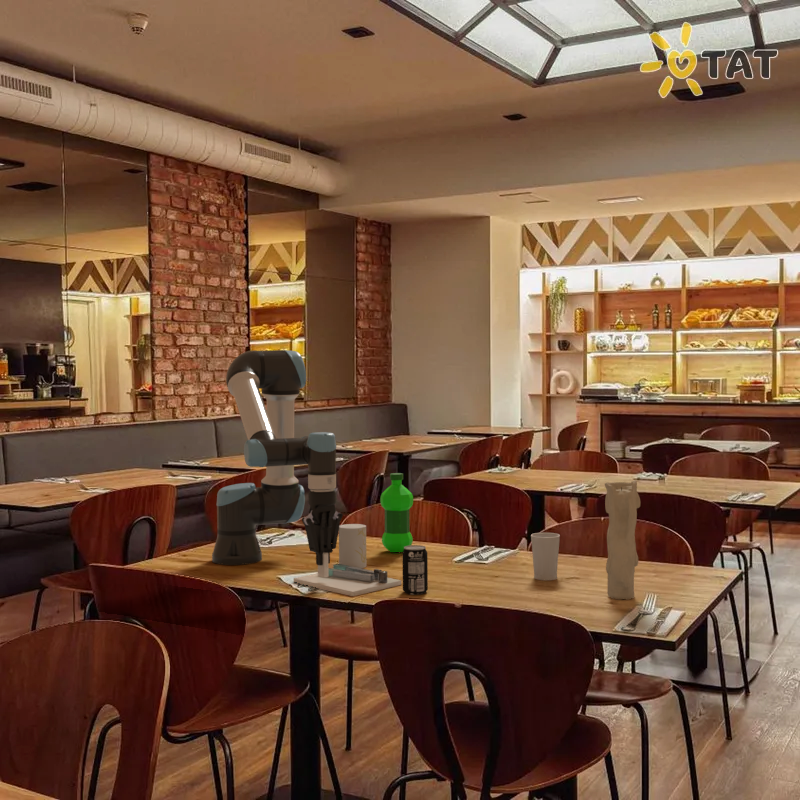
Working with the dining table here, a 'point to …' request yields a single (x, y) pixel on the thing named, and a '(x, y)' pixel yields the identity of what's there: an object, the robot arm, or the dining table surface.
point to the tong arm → (351, 575)
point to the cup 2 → (545, 555)
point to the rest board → (345, 584)
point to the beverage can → (415, 569)
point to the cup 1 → (352, 545)
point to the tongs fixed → (378, 574)
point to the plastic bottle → (396, 515)
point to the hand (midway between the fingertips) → (323, 576)
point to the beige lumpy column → (621, 538)
